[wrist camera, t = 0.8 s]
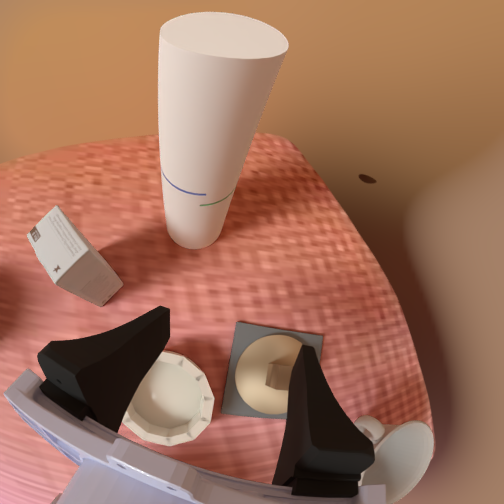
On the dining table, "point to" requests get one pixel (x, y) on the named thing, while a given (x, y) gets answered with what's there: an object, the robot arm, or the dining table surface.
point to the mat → (241, 341)
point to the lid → (267, 373)
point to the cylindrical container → (210, 114)
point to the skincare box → (73, 259)
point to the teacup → (396, 455)
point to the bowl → (171, 402)
